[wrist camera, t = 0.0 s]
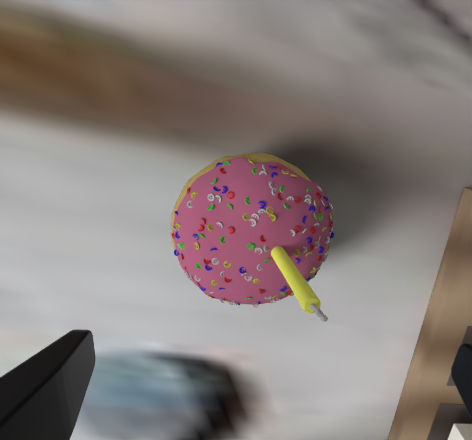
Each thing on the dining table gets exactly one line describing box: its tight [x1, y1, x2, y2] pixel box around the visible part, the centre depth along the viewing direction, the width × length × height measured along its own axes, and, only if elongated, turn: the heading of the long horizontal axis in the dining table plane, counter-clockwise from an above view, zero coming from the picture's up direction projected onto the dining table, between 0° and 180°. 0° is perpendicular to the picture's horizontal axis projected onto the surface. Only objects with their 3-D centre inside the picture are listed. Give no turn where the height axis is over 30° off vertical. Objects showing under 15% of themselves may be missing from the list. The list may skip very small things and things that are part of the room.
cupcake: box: [171, 153, 334, 321], centre depth 17 cm, size 9×8×12 cm
